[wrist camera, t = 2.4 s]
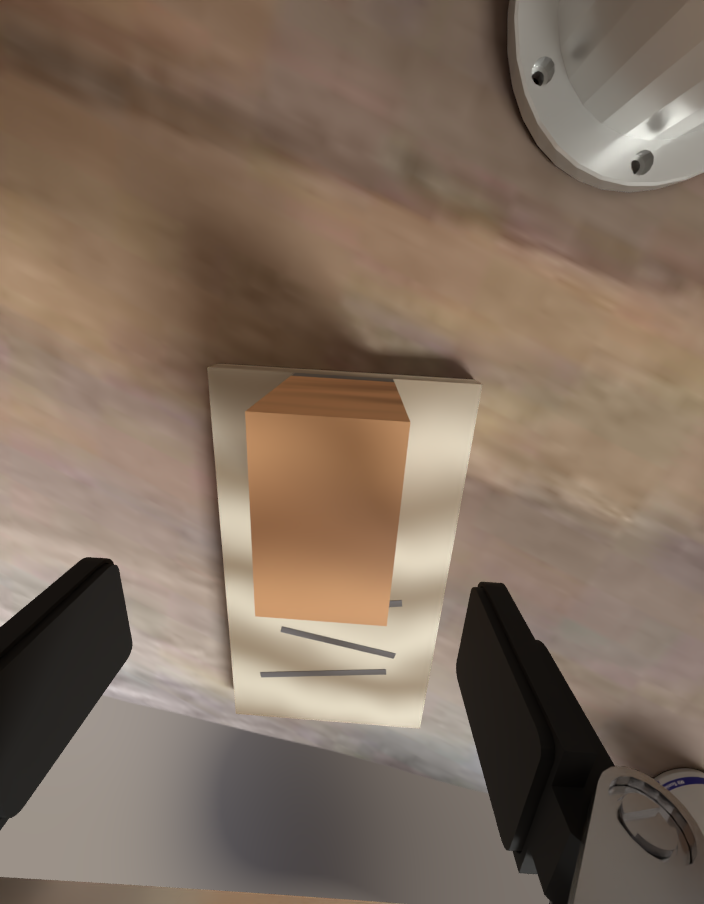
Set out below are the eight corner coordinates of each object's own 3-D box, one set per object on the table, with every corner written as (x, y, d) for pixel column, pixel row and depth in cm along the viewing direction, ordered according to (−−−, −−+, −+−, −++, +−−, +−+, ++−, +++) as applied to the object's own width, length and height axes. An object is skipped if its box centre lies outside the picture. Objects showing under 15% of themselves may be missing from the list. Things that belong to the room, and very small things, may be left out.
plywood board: (218, 363, 20) (206, 367, 19) (474, 379, 20) (482, 384, 18) (242, 694, 29) (235, 714, 28) (417, 708, 29) (419, 728, 27)
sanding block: (294, 372, 18) (245, 411, 11) (393, 378, 18) (410, 421, 11) (294, 510, 21) (255, 616, 14) (379, 516, 21) (386, 626, 14)
